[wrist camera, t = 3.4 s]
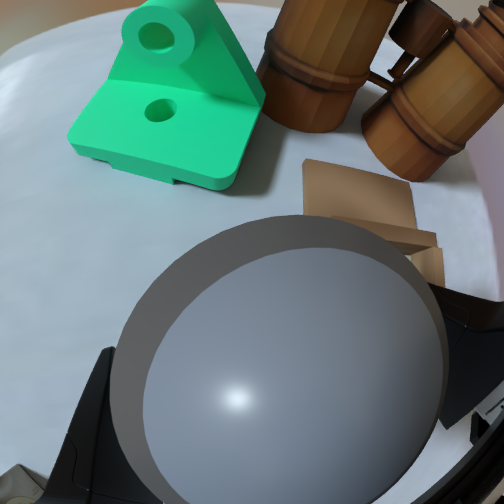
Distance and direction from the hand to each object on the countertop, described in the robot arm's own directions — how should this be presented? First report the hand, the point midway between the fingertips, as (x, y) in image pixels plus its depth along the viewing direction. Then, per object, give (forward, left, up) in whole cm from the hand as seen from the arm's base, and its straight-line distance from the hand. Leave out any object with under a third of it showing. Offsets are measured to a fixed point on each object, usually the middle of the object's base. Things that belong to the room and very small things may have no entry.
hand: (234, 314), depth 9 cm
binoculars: (+16, -10, -7) cm, 20 cm away
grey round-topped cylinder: (-1, -1, -7) cm, 7 cm away
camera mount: (+12, +5, -7) cm, 15 cm away
